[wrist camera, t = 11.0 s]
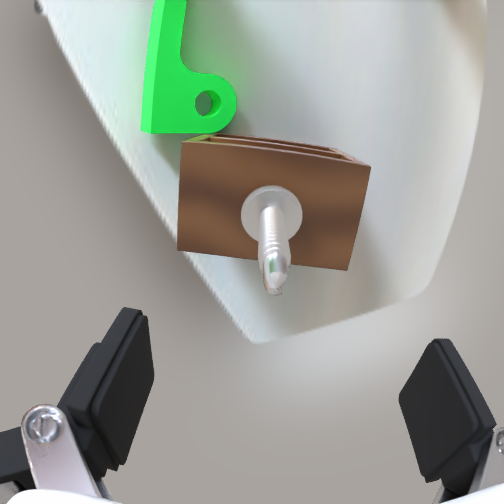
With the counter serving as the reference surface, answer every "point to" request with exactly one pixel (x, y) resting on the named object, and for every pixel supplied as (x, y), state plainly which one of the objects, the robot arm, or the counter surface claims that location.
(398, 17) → the counter surface
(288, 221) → the screw
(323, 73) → the counter surface
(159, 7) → the bracket
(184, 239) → the shelf
